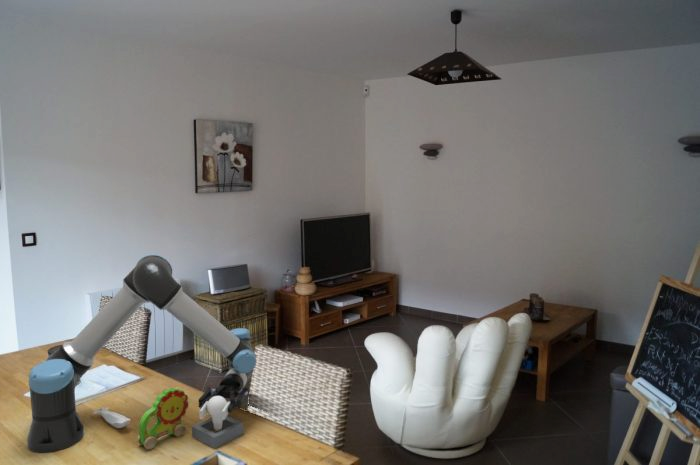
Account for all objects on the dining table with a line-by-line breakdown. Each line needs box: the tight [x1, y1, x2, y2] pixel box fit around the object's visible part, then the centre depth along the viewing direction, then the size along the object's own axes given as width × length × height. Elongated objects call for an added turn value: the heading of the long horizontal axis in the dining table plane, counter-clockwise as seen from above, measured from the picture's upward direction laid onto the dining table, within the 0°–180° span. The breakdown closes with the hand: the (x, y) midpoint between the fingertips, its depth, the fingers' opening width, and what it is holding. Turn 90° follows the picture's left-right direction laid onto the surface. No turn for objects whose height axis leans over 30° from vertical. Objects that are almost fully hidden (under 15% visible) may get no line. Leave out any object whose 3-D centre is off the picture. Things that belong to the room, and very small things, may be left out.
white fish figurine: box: [92, 407, 132, 429], centre depth 174 cm, size 6×18×4 cm, turn 50°
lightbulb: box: [207, 396, 228, 431], centre depth 165 cm, size 6×6×11 cm
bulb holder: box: [191, 415, 245, 450], centre depth 166 cm, size 11×11×4 cm
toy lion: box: [136, 387, 189, 450], centre depth 163 cm, size 16×5×15 cm, turn 141°
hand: (212, 415), depth 160 cm, fingers closed on lightbulb, 6 cm apart
